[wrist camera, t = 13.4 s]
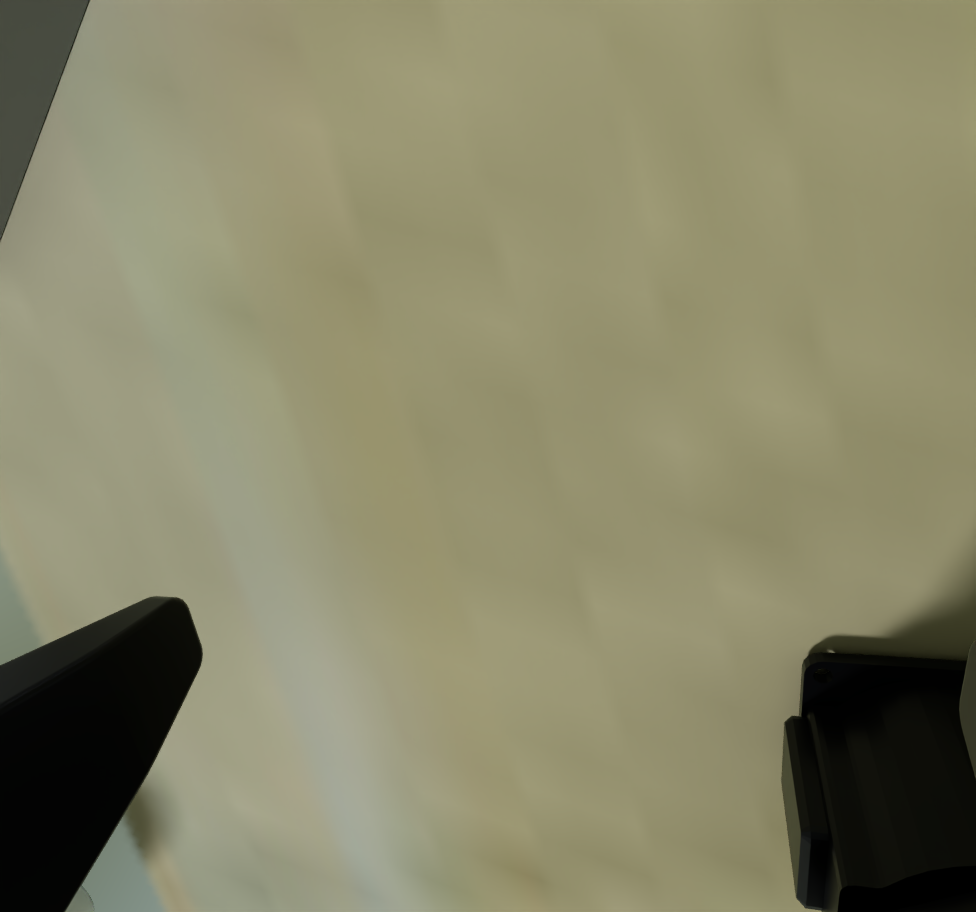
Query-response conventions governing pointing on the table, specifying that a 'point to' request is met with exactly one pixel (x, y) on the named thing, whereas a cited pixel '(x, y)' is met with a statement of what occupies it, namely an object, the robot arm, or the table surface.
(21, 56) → the power strip
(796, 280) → the table surface
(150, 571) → the table surface
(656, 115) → the table surface
